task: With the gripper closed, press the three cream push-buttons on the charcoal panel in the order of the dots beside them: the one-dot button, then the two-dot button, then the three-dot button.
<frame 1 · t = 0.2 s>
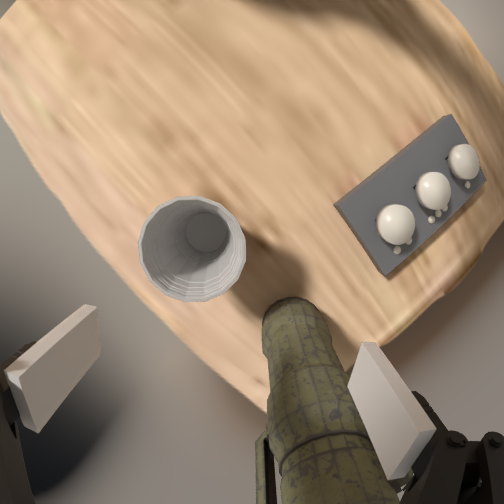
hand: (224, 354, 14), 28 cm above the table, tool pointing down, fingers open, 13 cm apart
button three dots: (429, 190, 35), point 4 cm above the table, slide at 0.0 cm
button panel: (416, 189, 39), on the table
thermos: (291, 324, 44), on the table
plastic cup: (207, 233, 41), on the table
button one dot: (460, 162, 34), point 4 cm above the table, slide at 0.0 cm
button two dots: (392, 223, 36), point 4 cm above the table, slide at 0.0 cm
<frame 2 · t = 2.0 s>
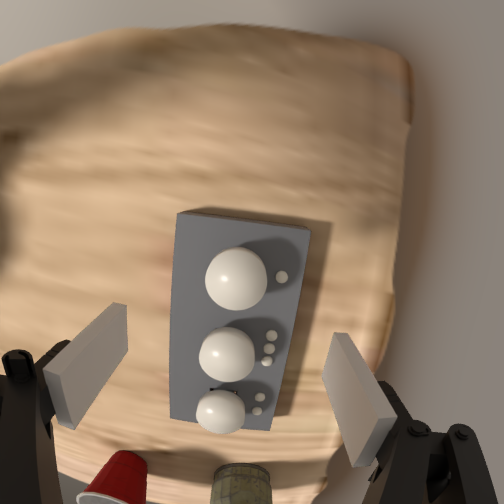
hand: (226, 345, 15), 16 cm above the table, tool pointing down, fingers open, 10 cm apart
button three dots: (228, 349, 28), point 4 cm above the table, slide at 0.0 cm
button panel: (230, 331, 32), on the table
thermos: (241, 477, 37), on the table
plastic cup: (132, 460, 37), on the table
button one dot: (237, 274, 26), point 4 cm above the table, slide at 0.0 cm
button two dots: (221, 406, 29), point 4 cm above the table, slide at 0.0 cm
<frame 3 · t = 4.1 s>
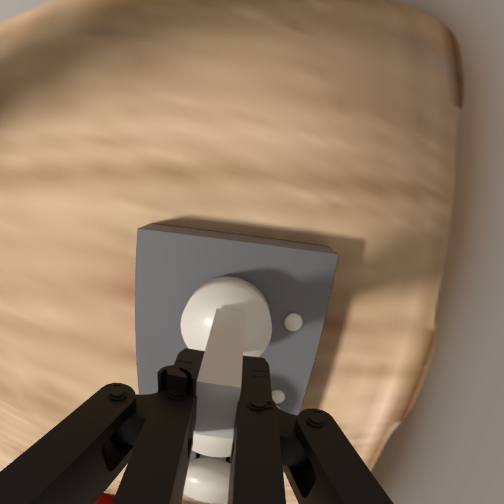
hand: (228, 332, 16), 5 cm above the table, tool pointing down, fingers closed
button three dots: (216, 415, 19), point 4 cm above the table, slide at 0.0 cm
button panel: (221, 385, 22), on the table
plastic cup: (114, 502, 28), on the table
button one dot: (228, 315, 18), point 3 cm above the table, slide at 1.0 cm, touching gripper
button two dots: (211, 473, 20), point 4 cm above the table, slide at 0.0 cm
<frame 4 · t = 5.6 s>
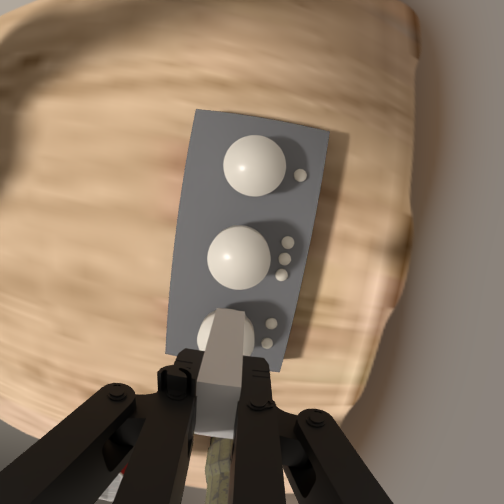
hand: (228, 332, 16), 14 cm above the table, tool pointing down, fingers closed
button three dots: (239, 254, 26), point 4 cm above the table, slide at 0.0 cm
button panel: (241, 245, 30), on the table
thermos: (242, 442, 36), on the table
plastic cup: (118, 419, 35), on the table
button one dot: (254, 167, 26), point 3 cm above the table, slide at 1.1 cm
button two dots: (227, 332, 27), point 4 cm above the table, slide at 0.0 cm
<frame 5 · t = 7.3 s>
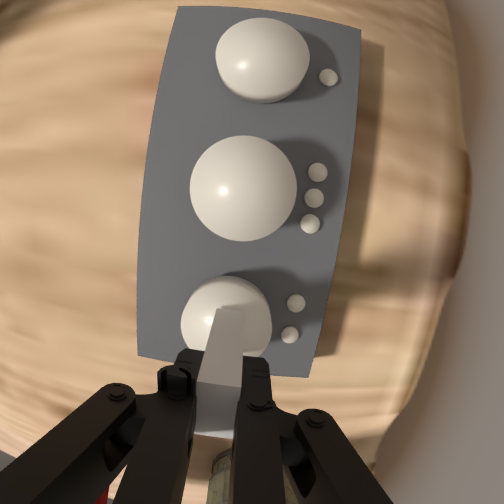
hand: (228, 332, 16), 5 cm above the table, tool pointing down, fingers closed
button three dots: (243, 188, 16), point 4 cm above the table, slide at 0.0 cm
button panel: (245, 187, 19), on the table
thermos: (253, 468, 25), on the table
button one dot: (261, 66, 15), point 3 cm above the table, slide at 1.1 cm
button two dots: (228, 314, 18), point 3 cm above the table, slide at 0.7 cm, touching gripper
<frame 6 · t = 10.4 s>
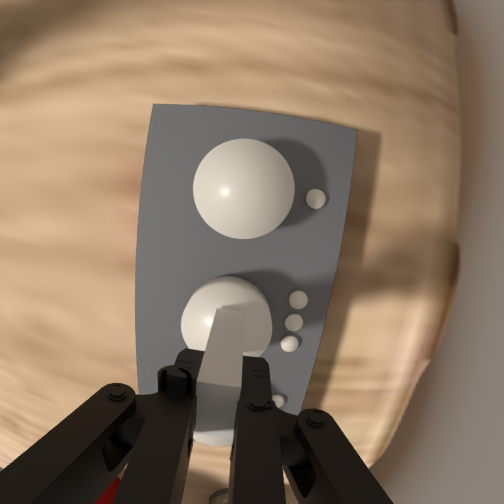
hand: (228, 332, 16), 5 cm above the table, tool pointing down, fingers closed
button three dots: (228, 315, 18), point 3 cm above the table, slide at 1.0 cm, touching gripper
button panel: (231, 299, 21), on the table
thermos: (245, 502, 27), on the table
plastic cup: (104, 477, 26), on the table
button one dot: (244, 188, 17), point 3 cm above the table, slide at 1.1 cm
button two dots: (218, 406, 20), point 3 cm above the table, slide at 1.1 cm
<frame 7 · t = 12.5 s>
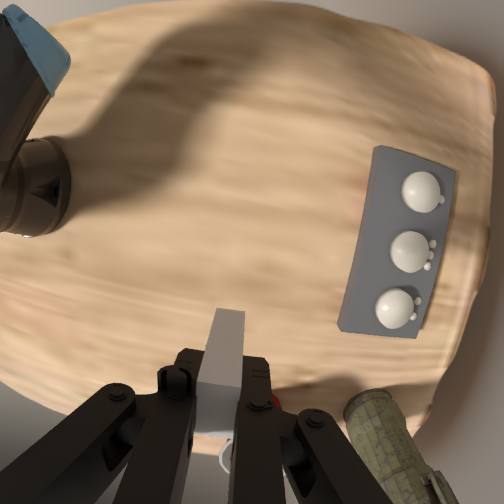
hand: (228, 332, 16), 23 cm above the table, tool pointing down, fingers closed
button three dots: (405, 249, 35), point 3 cm above the table, slide at 1.1 cm
button panel: (397, 246, 38), on the table
thermos: (367, 408, 43), on the table
plastic cup: (262, 404, 43), on the table
button one dot: (417, 191, 34), point 3 cm above the table, slide at 1.1 cm
button two dots: (391, 305, 36), point 3 cm above the table, slide at 1.1 cm
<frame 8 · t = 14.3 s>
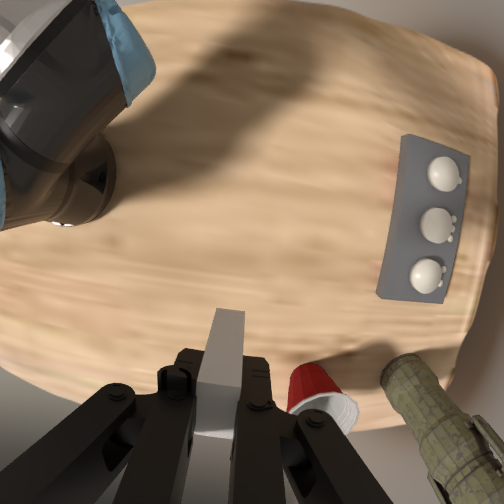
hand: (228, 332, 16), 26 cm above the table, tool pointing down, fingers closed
button three dots: (432, 224, 38), point 3 cm above the table, slide at 1.1 cm
button panel: (423, 221, 41), on the table
thermos: (400, 373, 47), on the table
plastic cup: (308, 375, 47), on the table
button one dot: (439, 174, 37), point 3 cm above the table, slide at 1.1 cm
button two dots: (422, 273, 40), point 3 cm above the table, slide at 1.1 cm
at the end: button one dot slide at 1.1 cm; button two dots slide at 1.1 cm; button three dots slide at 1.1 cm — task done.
